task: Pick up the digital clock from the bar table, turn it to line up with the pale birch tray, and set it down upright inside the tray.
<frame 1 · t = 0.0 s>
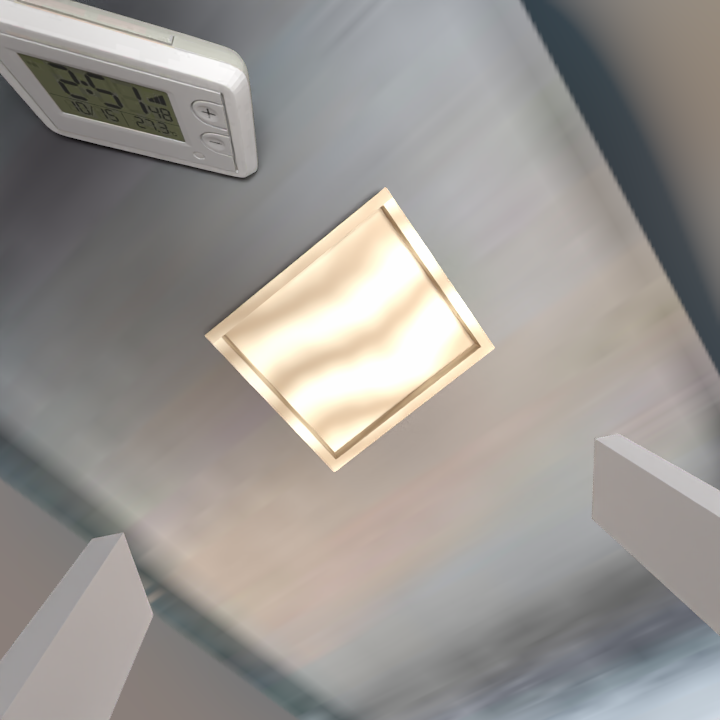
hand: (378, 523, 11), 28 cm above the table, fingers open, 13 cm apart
digital clock: (163, 124, 32), on the table
birch tray: (354, 336, 38), on the table
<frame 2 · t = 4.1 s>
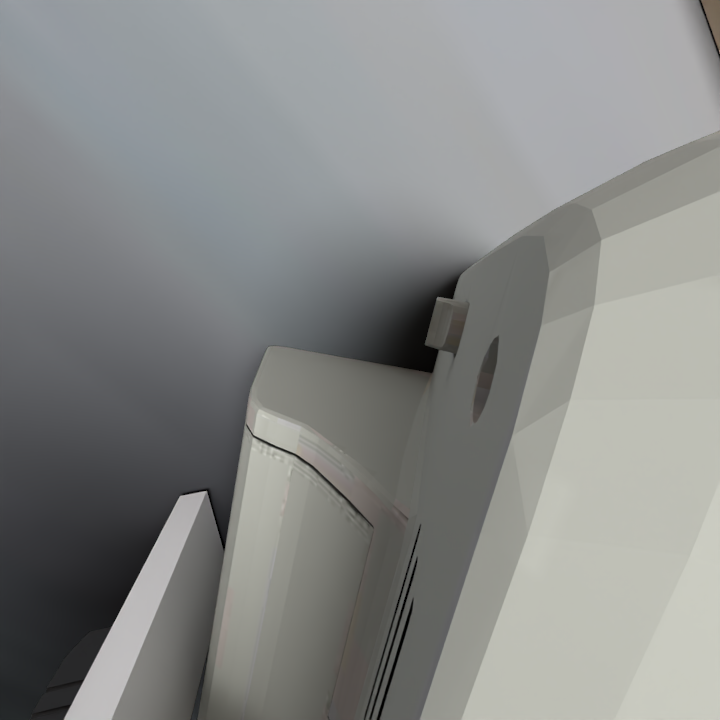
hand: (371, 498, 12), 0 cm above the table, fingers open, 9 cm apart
digital clock: (377, 496, 13), on the table
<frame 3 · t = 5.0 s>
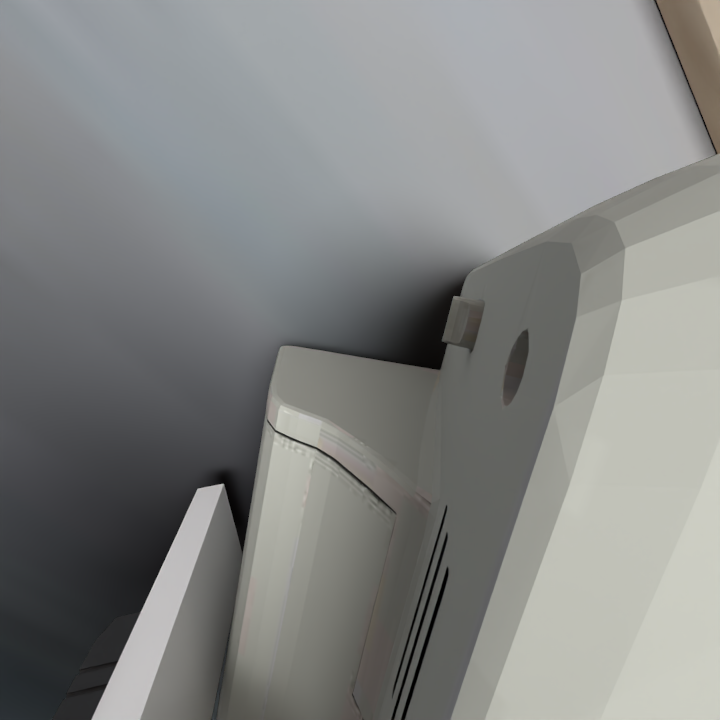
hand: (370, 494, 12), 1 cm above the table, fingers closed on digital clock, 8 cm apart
digital clock: (386, 491, 13), point 1 cm above the table, touching gripper
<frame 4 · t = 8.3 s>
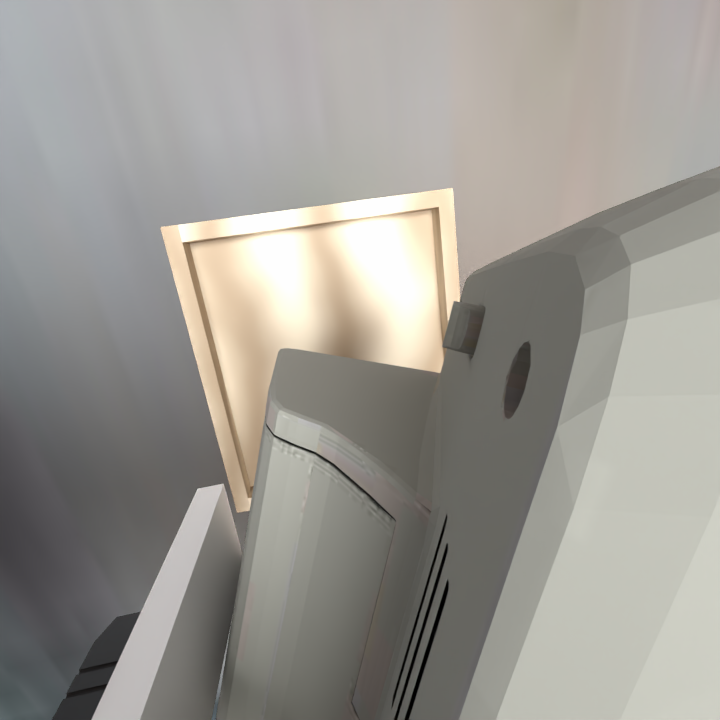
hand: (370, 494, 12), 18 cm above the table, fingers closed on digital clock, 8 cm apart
digital clock: (386, 494, 13), point 17 cm above the table, touching gripper
birch tray: (334, 353, 29), on the table
when the fingers open (3 cm above the table, at t = 11.9 s): digital clock drops 2 cm, resting on birch tray.
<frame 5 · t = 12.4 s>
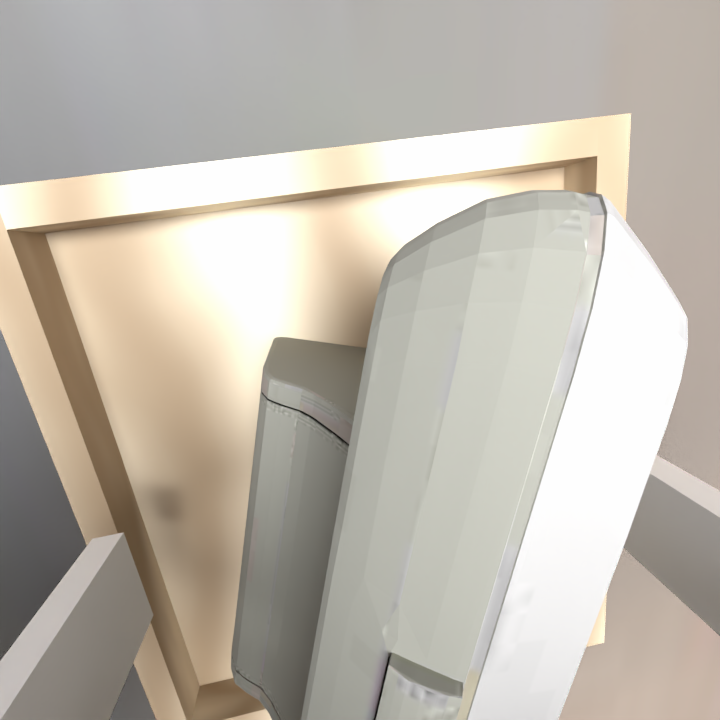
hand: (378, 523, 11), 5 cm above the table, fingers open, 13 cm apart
digital clock: (372, 461, 15), point 1 cm above the table, touching birch tray
birch tray: (356, 444, 15), on the table
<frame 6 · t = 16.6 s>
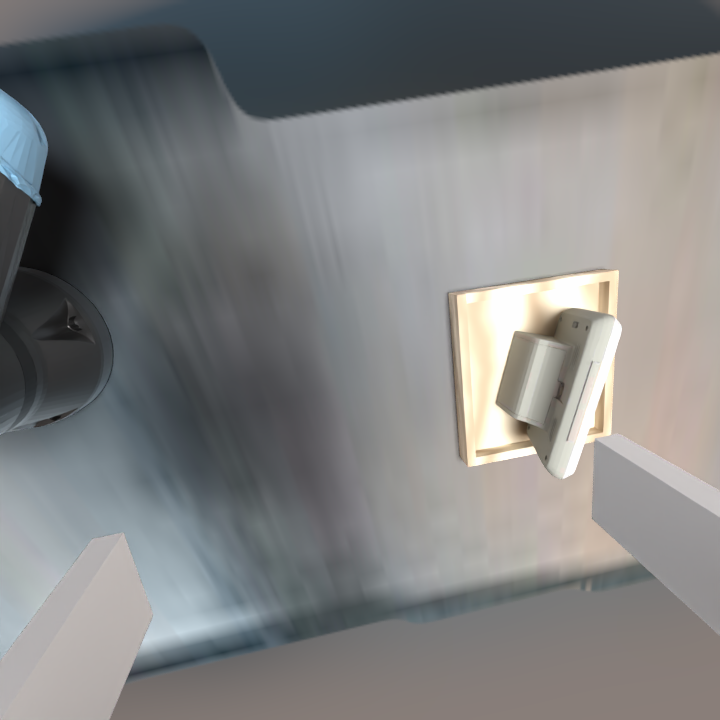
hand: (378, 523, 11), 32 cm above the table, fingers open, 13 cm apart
digital clock: (535, 371, 45), point 1 cm above the table, touching birch tray
birch tray: (527, 366, 46), on the table
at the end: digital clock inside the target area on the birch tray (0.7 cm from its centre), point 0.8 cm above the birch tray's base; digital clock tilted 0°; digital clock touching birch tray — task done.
